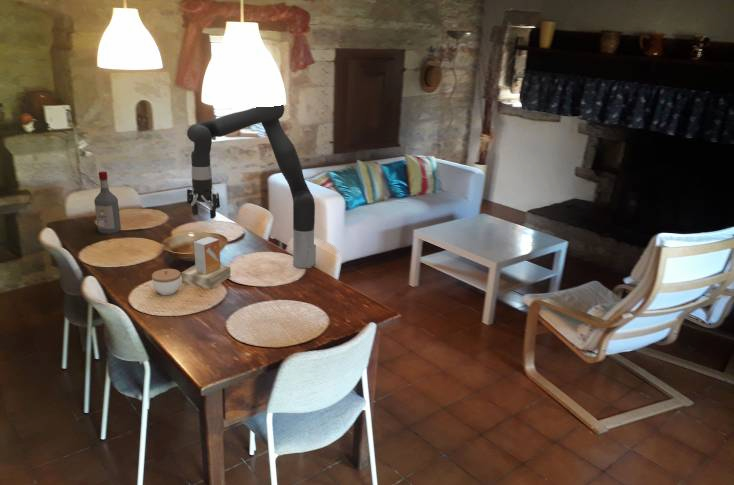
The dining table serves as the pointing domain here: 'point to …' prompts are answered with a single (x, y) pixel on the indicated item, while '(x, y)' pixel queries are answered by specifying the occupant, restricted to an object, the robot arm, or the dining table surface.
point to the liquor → (107, 208)
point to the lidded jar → (166, 281)
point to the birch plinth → (205, 277)
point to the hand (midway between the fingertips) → (204, 216)
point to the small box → (207, 255)
